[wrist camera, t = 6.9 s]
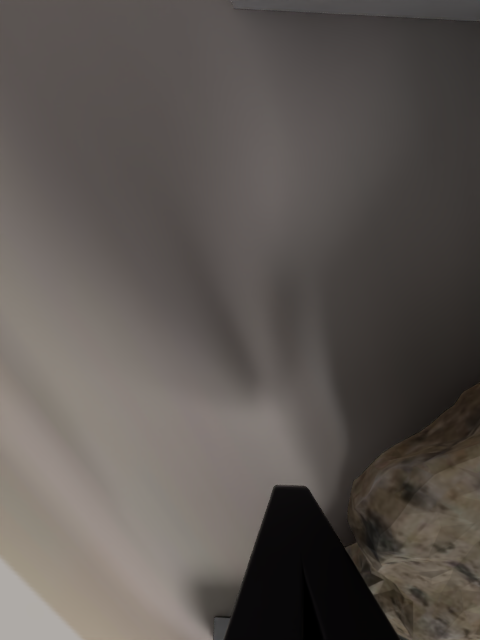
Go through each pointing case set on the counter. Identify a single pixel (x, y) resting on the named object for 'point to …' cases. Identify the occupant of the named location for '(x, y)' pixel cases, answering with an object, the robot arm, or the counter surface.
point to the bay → (428, 3)
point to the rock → (424, 527)
